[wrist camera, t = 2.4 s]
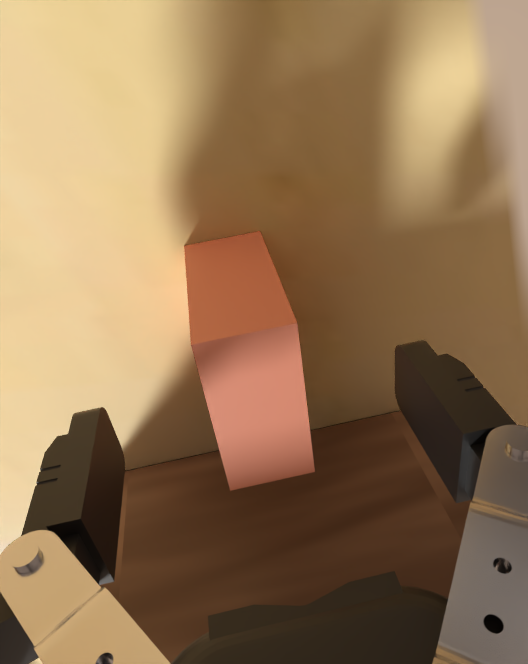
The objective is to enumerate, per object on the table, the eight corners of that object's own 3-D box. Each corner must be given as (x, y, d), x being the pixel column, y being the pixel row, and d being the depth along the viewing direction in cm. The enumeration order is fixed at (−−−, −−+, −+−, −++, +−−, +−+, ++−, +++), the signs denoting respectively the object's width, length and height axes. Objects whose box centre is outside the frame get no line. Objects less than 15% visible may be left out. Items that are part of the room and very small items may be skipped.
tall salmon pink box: (184, 245, 16) (190, 344, 11) (260, 230, 16) (297, 323, 11) (214, 370, 18) (230, 490, 14) (278, 357, 19) (315, 471, 14)
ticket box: (104, 476, 20) (54, 859, 11) (419, 406, 21) (611, 713, 12) (178, 632, 28) (185, 942, 18) (410, 577, 28) (526, 848, 19)
